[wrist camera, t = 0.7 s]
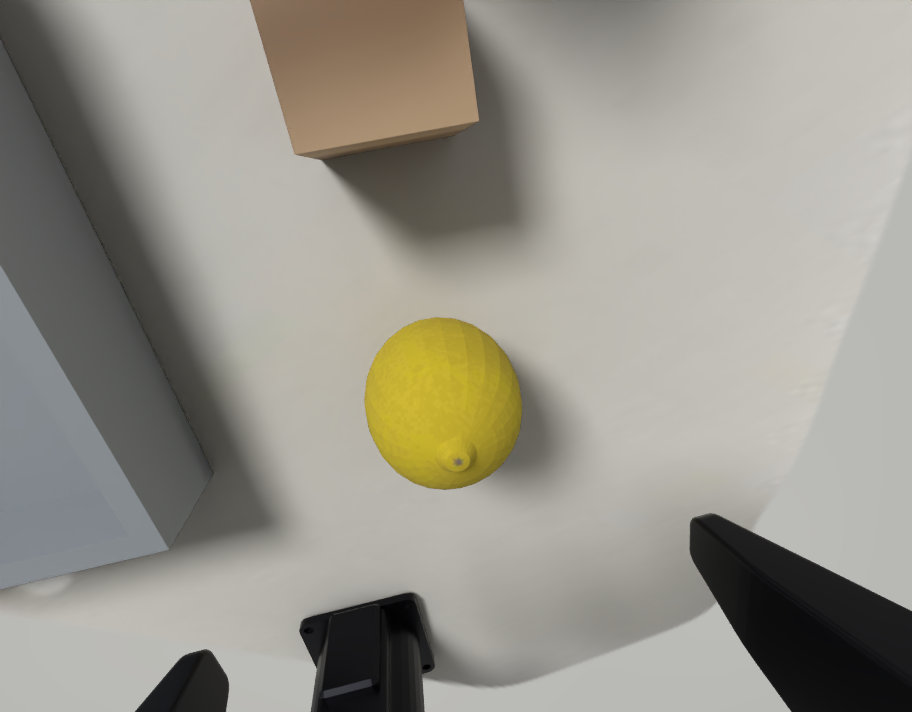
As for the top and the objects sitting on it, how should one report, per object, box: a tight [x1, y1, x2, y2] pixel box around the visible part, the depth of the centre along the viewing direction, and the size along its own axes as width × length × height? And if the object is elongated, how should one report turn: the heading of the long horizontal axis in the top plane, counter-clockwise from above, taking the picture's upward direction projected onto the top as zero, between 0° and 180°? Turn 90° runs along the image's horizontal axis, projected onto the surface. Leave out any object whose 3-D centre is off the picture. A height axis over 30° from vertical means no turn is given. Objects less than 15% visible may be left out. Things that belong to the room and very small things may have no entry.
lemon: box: [365, 317, 522, 490], centre depth 16 cm, size 6×6×8 cm
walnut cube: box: [250, 0, 479, 160], centre depth 13 cm, size 5×5×5 cm
